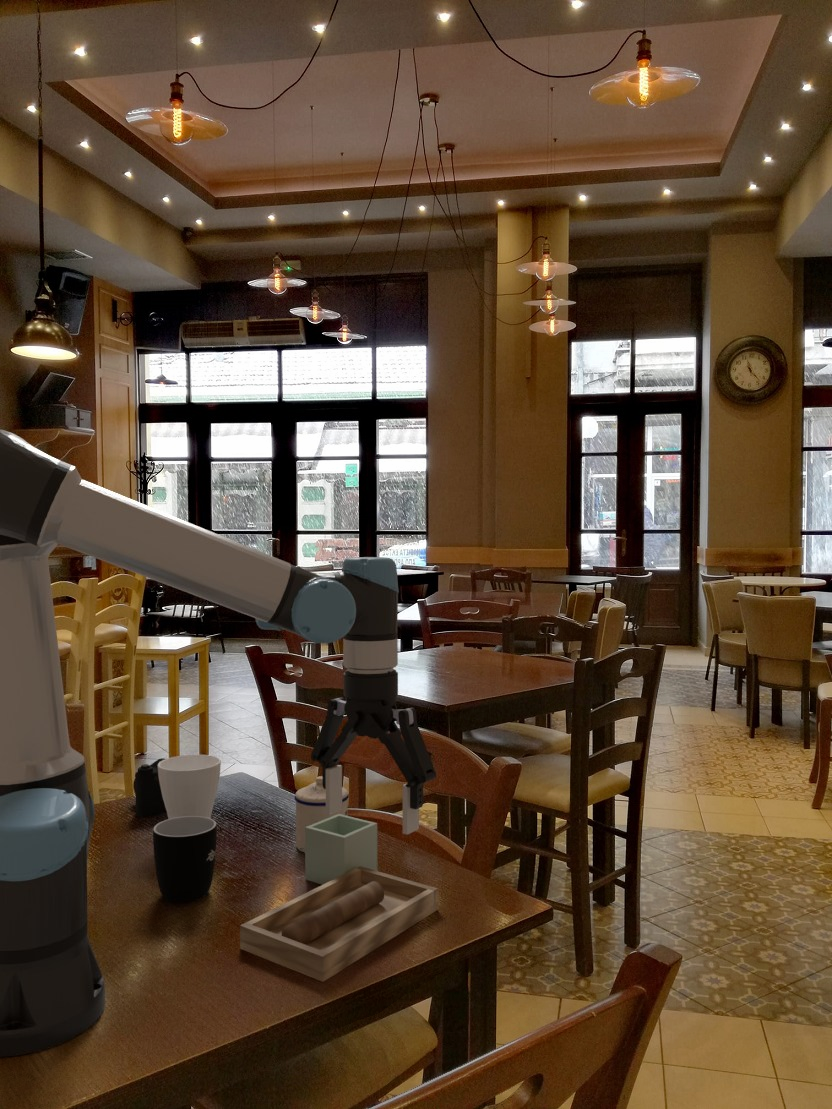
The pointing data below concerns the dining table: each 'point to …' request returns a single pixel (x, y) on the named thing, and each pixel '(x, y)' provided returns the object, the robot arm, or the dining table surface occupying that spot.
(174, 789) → the cup
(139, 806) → the black teapot
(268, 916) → the serving tray
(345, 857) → the pot
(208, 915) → the dining table surface
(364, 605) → the robot arm
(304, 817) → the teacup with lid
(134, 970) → the dining table surface
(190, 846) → the mug
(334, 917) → the baguette
